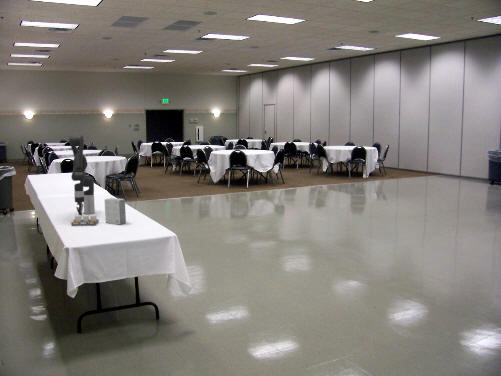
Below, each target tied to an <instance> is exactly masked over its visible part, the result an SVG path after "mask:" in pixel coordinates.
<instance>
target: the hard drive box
mask: <svg viewBox="0 0 501 376" xmlns="http://www.w3.org/2000/svg"><path fill="white" fill-rule="evenodd" d="M104 212H105V213H104V214H105V215H104V216H105V223H106V224H113V225H123V224H126V223H127V217H126V200H125V198H114V197H113V198H112V197H109V198H106V199H105V198H104Z"/></svg>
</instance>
